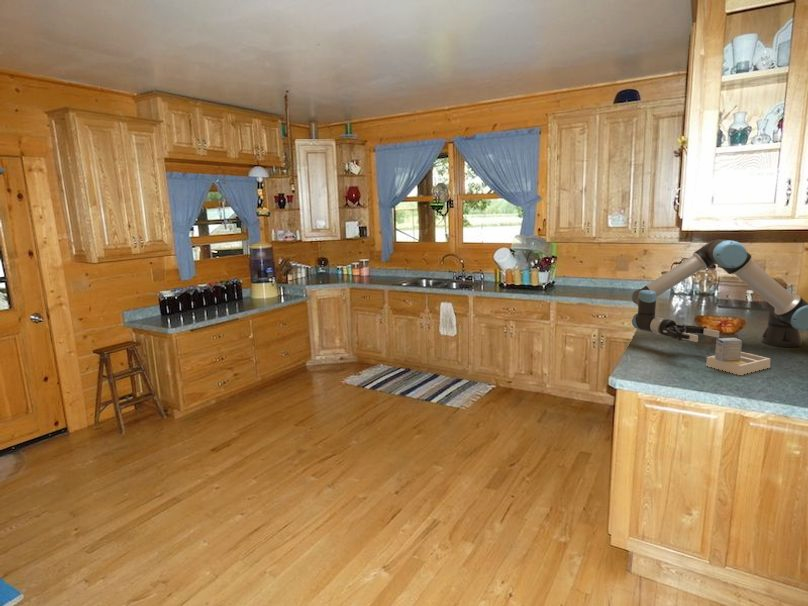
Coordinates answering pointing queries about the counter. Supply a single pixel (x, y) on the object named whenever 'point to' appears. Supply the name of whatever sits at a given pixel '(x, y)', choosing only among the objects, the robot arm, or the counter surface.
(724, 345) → the medicine box
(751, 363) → the board
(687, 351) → the counter surface
